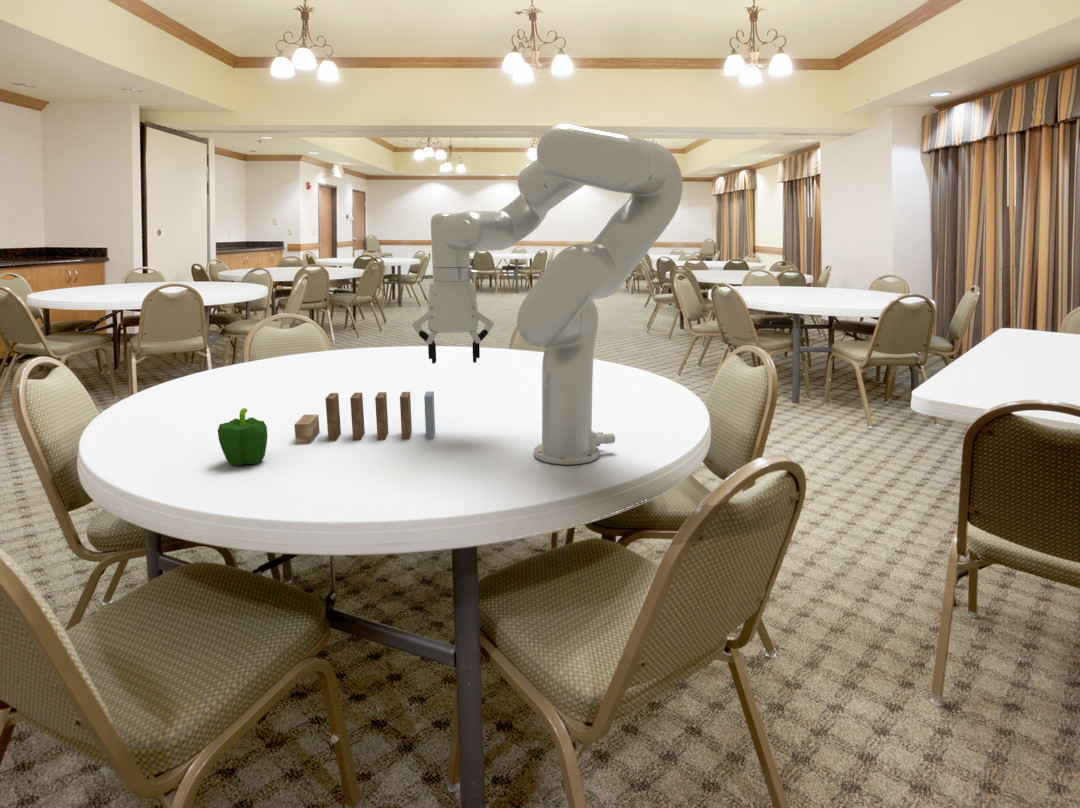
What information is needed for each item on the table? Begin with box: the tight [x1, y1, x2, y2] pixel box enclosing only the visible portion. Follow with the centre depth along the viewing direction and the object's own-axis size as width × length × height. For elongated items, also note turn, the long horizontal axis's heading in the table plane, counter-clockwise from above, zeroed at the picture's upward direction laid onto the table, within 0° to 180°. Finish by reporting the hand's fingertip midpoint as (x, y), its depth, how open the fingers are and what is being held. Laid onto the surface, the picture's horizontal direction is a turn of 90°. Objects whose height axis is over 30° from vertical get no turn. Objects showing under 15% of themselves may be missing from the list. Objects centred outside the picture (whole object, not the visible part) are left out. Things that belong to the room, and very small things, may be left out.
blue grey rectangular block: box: [423, 391, 436, 440], centre depth 149 cm, size 2×5×9 cm, turn 5°
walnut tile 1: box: [399, 391, 413, 440], centre depth 149 cm, size 2×5×9 cm, turn 4°
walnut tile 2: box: [374, 391, 389, 441], centre depth 149 cm, size 2×5×9 cm, turn 4°
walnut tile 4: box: [324, 392, 342, 442], centre depth 148 cm, size 2×5×9 cm, turn 4°
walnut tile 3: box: [349, 392, 366, 441], centre depth 148 cm, size 2×5×9 cm, turn 5°
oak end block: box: [294, 413, 321, 444], centre depth 148 cm, size 3×8×4 cm, turn 4°
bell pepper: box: [217, 407, 268, 467], centre depth 131 cm, size 8×8×10 cm
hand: (454, 361), depth 147 cm, fingers open, 7 cm apart
